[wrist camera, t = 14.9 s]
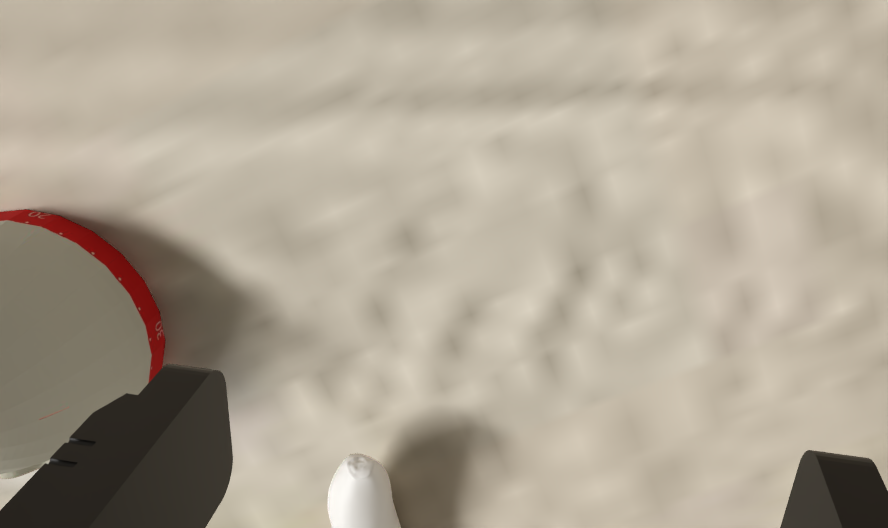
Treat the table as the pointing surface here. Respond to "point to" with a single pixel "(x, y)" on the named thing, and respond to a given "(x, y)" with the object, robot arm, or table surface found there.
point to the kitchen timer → (66, 334)
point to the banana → (361, 495)
